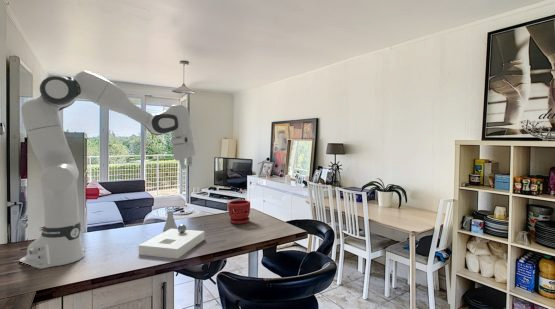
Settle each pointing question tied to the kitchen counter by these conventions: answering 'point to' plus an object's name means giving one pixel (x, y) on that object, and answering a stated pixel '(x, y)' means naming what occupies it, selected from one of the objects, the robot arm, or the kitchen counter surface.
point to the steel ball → (181, 228)
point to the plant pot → (239, 211)
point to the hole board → (171, 243)
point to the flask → (170, 222)
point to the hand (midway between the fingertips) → (187, 167)
